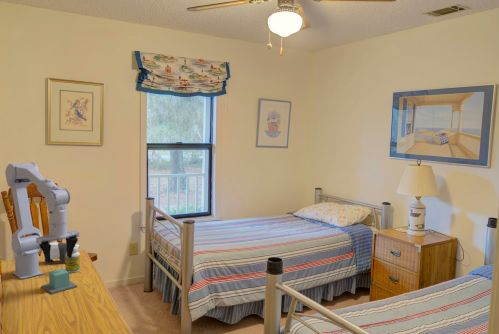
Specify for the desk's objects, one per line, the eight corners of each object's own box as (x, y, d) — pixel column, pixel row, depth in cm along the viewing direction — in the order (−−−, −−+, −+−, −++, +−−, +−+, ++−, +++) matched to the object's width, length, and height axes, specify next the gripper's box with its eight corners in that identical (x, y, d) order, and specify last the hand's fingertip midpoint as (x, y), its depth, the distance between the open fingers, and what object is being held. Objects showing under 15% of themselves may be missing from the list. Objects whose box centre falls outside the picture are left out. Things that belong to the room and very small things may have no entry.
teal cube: (49, 285, 144) (49, 272, 144) (63, 281, 148) (62, 268, 148) (55, 289, 141) (55, 275, 141) (69, 285, 145) (69, 272, 144)
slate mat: (41, 287, 144) (41, 285, 144) (66, 280, 151) (66, 278, 151) (51, 294, 138) (51, 292, 138) (77, 287, 145) (77, 285, 145)
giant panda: (41, 265, 167) (41, 243, 166) (45, 261, 172) (44, 239, 171) (79, 263, 171) (78, 241, 170) (81, 259, 176) (80, 238, 175)
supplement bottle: (78, 267, 165) (78, 245, 164) (81, 271, 161) (81, 248, 160) (64, 269, 162) (64, 247, 161) (66, 274, 158) (66, 250, 157)
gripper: (41, 228, 135) (42, 266, 136) (83, 221, 145) (83, 257, 147) (33, 224, 139) (34, 261, 140) (74, 218, 150) (74, 253, 151)
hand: (58, 259), depth 144 cm, fingers open, 7 cm apart
